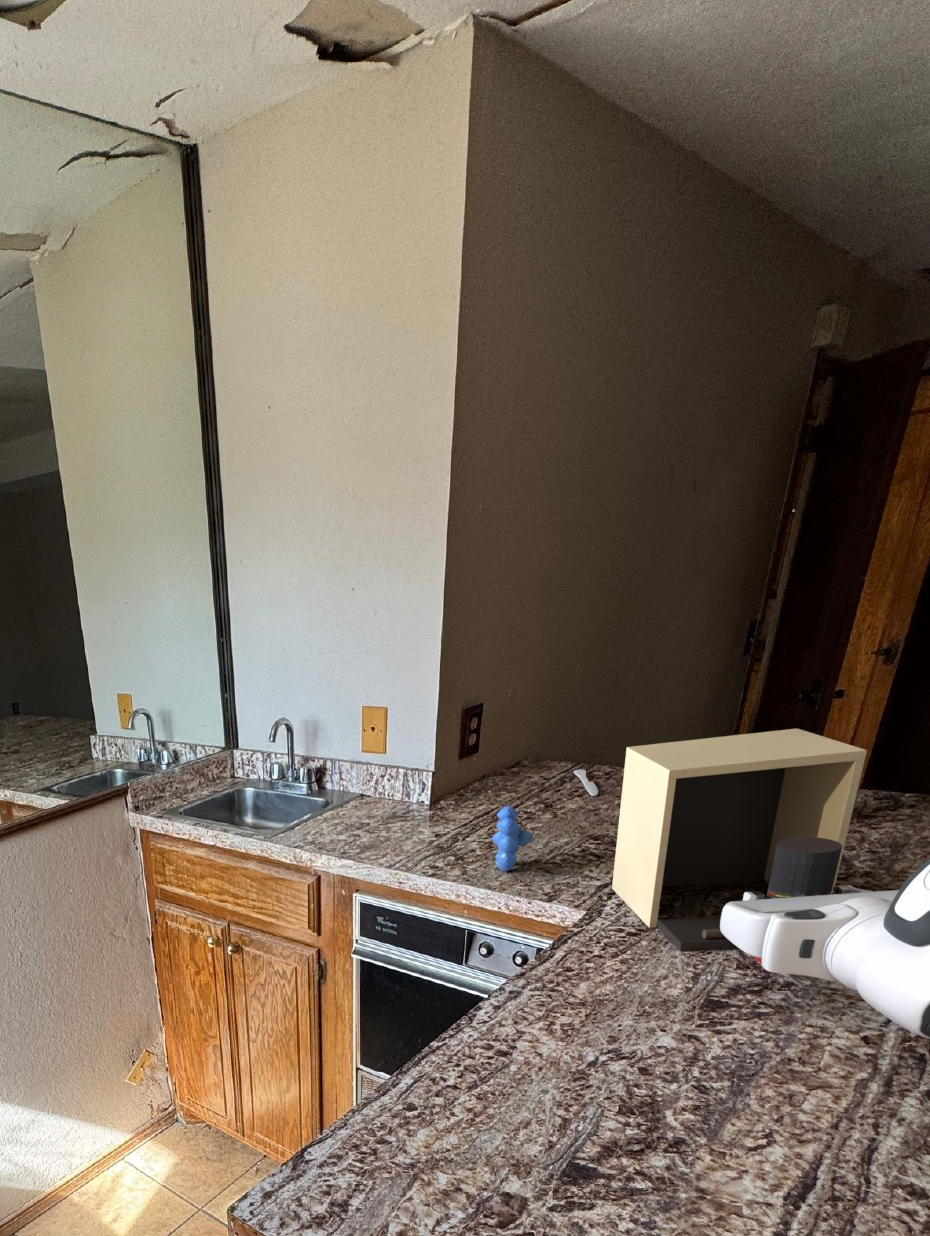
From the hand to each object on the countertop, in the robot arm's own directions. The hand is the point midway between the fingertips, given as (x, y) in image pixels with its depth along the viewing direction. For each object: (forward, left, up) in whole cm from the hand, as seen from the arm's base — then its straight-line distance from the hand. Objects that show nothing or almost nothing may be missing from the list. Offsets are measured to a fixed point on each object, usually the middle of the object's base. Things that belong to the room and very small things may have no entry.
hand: (793, 894), depth 94 cm
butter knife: (-23, -91, -9) cm, 94 cm away
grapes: (+15, -44, -9) cm, 47 cm away
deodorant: (0, +1, -9) cm, 9 cm away
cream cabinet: (-3, -15, -9) cm, 18 cm away
